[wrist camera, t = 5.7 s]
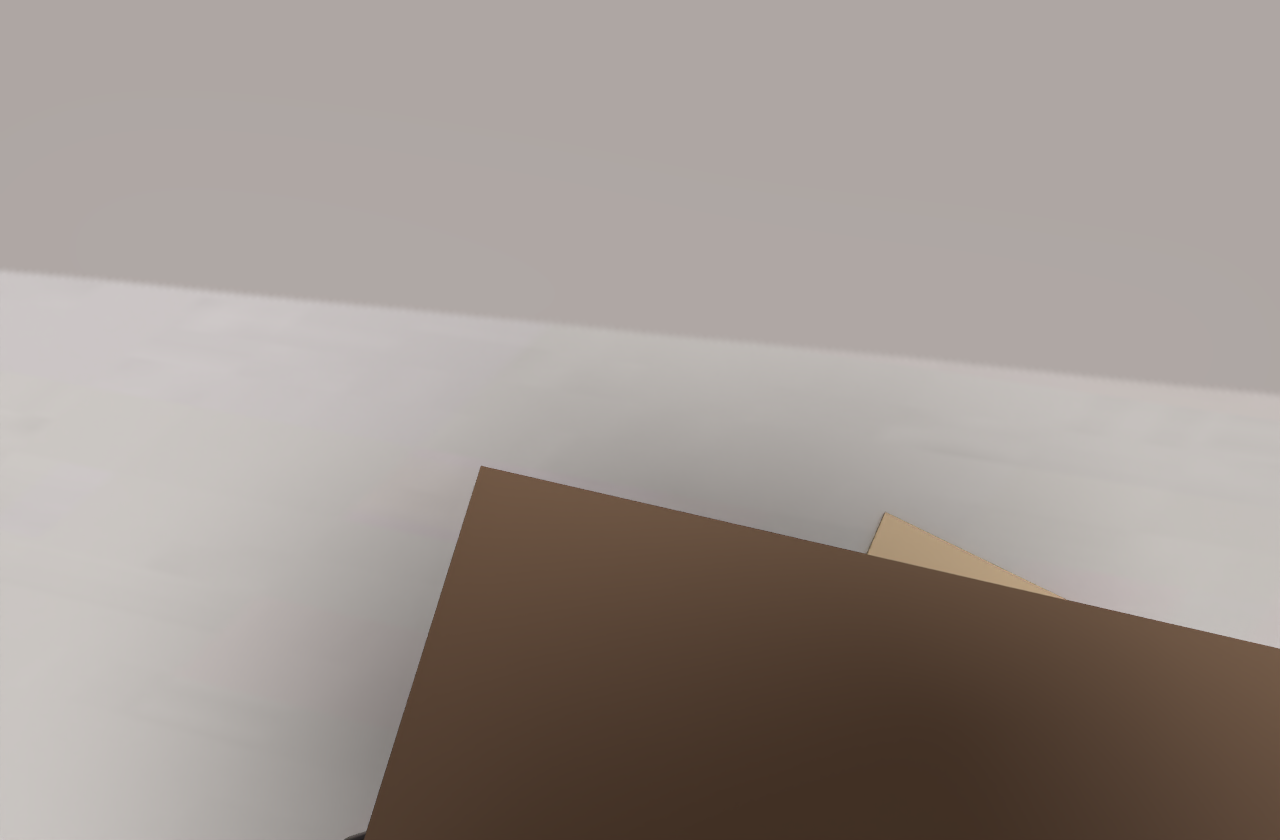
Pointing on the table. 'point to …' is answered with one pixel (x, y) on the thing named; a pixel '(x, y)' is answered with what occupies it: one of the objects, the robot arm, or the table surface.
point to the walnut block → (802, 695)
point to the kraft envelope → (939, 555)
